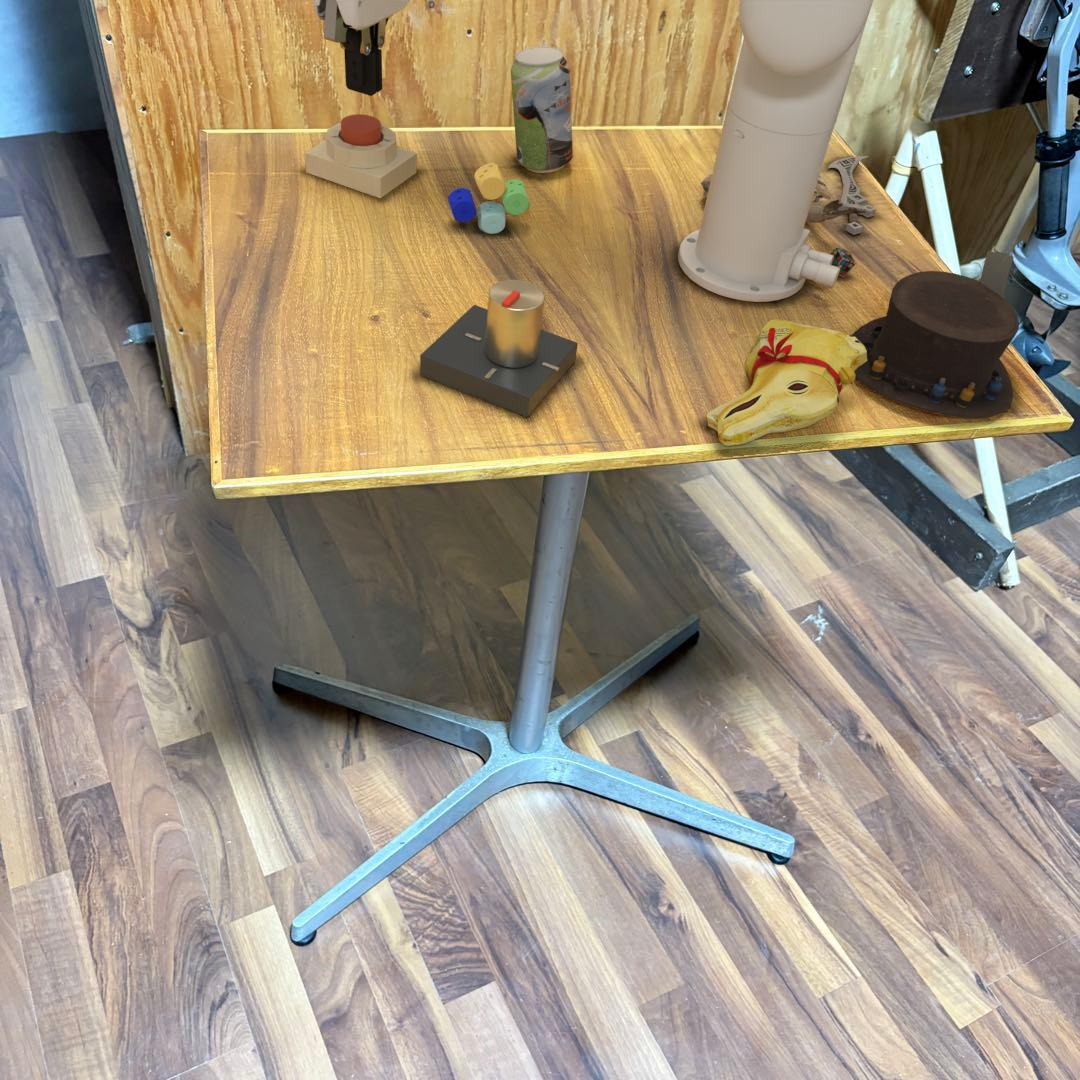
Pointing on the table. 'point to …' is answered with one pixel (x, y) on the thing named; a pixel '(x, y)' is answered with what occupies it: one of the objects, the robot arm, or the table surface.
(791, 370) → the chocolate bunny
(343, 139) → the red push button
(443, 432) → the table surface
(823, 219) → the prawn
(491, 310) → the temp dial
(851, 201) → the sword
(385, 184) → the button base
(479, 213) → the dice
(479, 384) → the dial panel
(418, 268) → the table surface
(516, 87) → the beverage can
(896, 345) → the top hat
